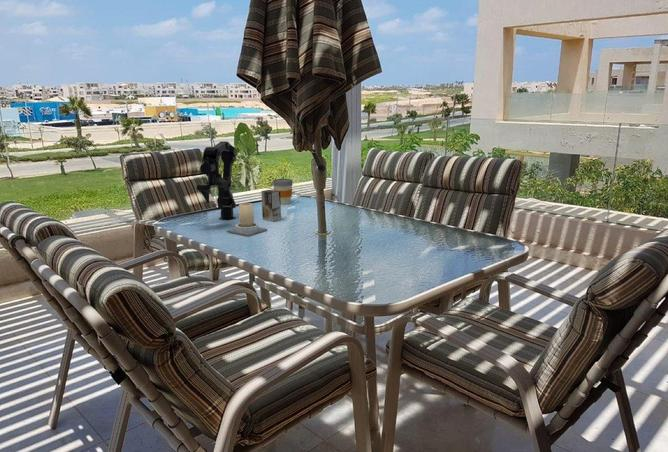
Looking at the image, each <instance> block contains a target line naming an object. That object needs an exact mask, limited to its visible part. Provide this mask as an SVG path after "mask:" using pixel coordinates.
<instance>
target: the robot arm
mask: <svg viewBox="0 0 668 452" xmlns="http://www.w3.org/2000/svg"><path fill="white" fill-rule="evenodd" d="M202 153H203V154H202V158H201V161H202V162H203V163H202V164H200V167H199V170H200V173H201V174H203V175H205V176H206V177H207V181H206V183H198V184H197V185H196V190H197V191H198V192H200V194H201V195H202V196H203V198H204V201H205V202H206V204H210V193H211V188H212V189H213V188H217V191H218V192H217V199H216V203H217V204H216V205H217V208H218V209H220V217H219V219H220V220H226V221H229V220H233V219H236V216H234V209H236V205H237V203H236V200H235V199H234V195H233V192H232V191H231V189H232V173H233V172H232V171H233V165H234V164H235V162H236V158H237V156H238V153H237V150H236V148H235V146H233V145H232V144H230V141H225V140H223V141H219V142H217V144H215V145H214V146H206V147H205V148H204V149H203V152H202ZM220 160H221V161H222V162H223V165H222V167H223V168H222V173H220V167H219V166H220V165H219V164H220Z"/></svg>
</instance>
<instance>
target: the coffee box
mask: <svg viewBox="0 0 668 452" xmlns="http://www.w3.org/2000/svg"><path fill="white" fill-rule="evenodd" d="M281 207H282V205H281V201H280V191H275V190H273V189H266V190H261V212H262V215H261V216H262V220H265V221H267V222H268V221H269V222H273V223H274V222H276V221H277V222H278V221H282V208H281Z"/></svg>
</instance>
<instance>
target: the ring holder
mask: <svg viewBox="0 0 668 452" xmlns="http://www.w3.org/2000/svg"><path fill="white" fill-rule="evenodd" d="M267 231H268V228H265V227H259V224H258V223H257V222H254V226H253V227H240V222H238V223H236V224H235V228H231V229H229V230H226V232H227V233H228V234H232V235H237V236H243V237H247V238H248V237H252V236H255V235H259V234H262V233H265V232H267Z"/></svg>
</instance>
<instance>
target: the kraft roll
mask: <svg viewBox="0 0 668 452" xmlns="http://www.w3.org/2000/svg"><path fill="white" fill-rule="evenodd" d="M238 211H239V223H240V227H253V226H254V223H255V218H254V217H255V215H254V203H252V202H241V203H238Z"/></svg>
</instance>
